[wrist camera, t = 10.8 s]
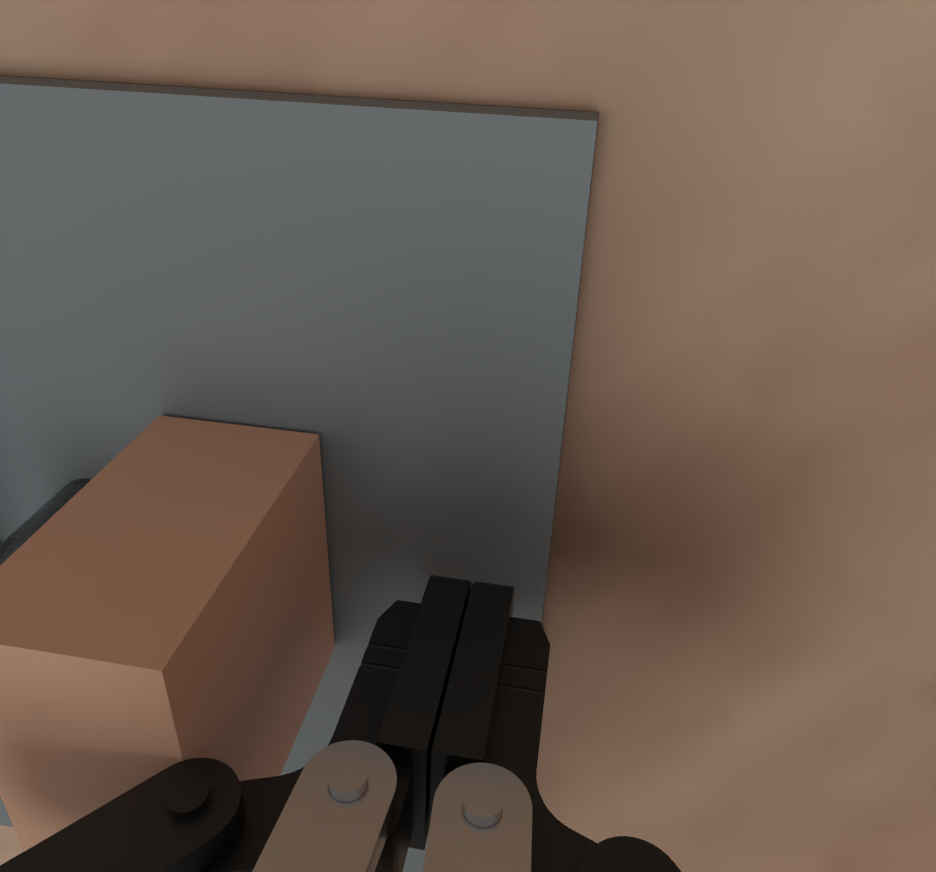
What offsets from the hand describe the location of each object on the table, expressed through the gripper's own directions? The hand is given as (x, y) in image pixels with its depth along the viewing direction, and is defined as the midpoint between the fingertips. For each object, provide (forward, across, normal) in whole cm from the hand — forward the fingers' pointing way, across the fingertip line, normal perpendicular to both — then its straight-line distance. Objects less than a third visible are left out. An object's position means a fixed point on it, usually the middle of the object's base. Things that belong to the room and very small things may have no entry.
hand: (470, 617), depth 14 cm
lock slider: (+1, +5, 0) cm, 5 cm away
